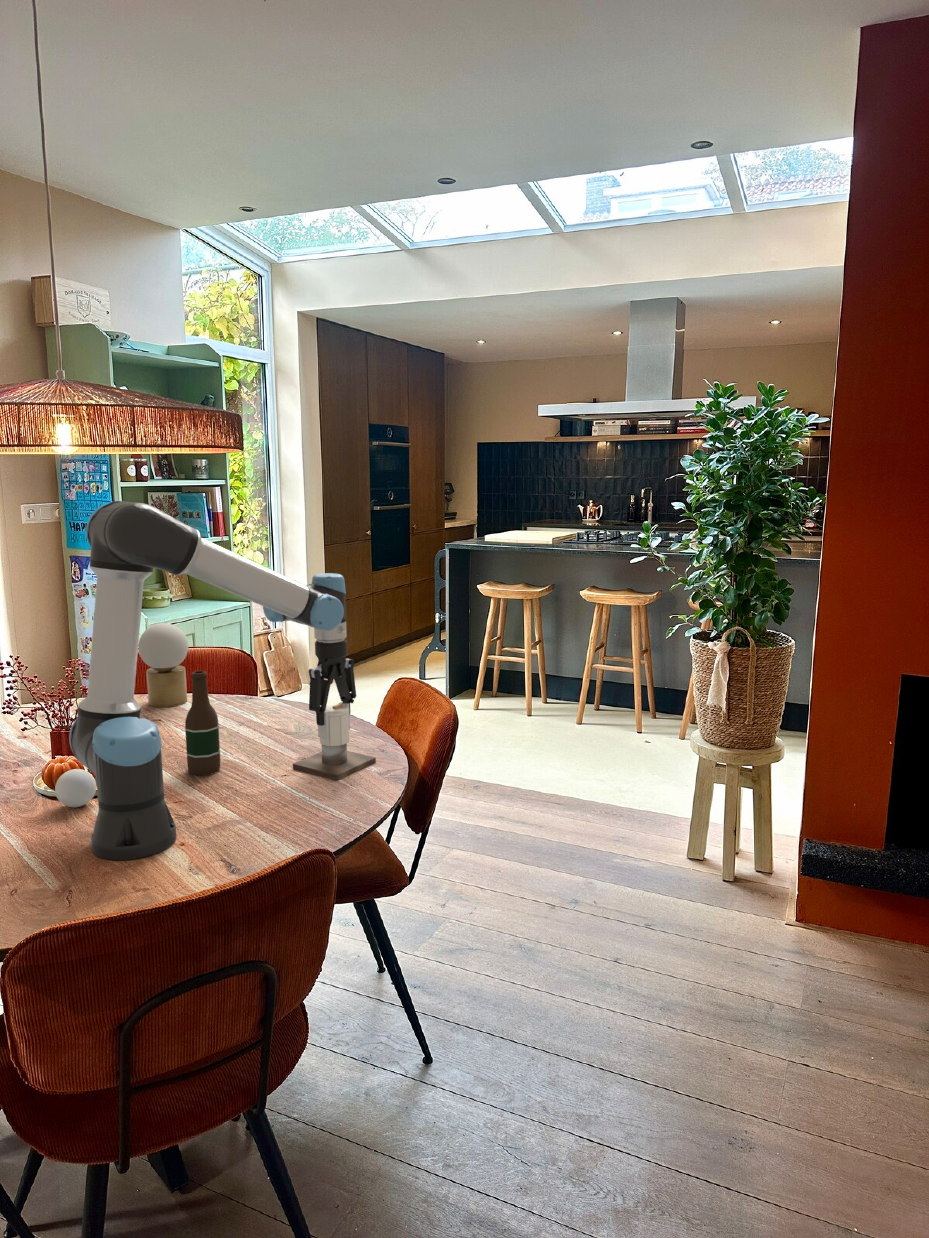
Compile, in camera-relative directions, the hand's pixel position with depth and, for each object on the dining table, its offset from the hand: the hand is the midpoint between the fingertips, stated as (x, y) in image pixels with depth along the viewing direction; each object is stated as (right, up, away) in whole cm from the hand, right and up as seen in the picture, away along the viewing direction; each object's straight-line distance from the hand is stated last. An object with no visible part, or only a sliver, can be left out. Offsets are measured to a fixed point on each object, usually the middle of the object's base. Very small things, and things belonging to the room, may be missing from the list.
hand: (334, 733), depth 202 cm
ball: (-51, -13, -23) cm, 57 cm away
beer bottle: (-31, -9, -2) cm, 32 cm away
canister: (0, -2, 0) cm, 2 cm away
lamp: (-59, +1, +55) cm, 81 cm away
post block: (0, -8, +1) cm, 8 cm away
